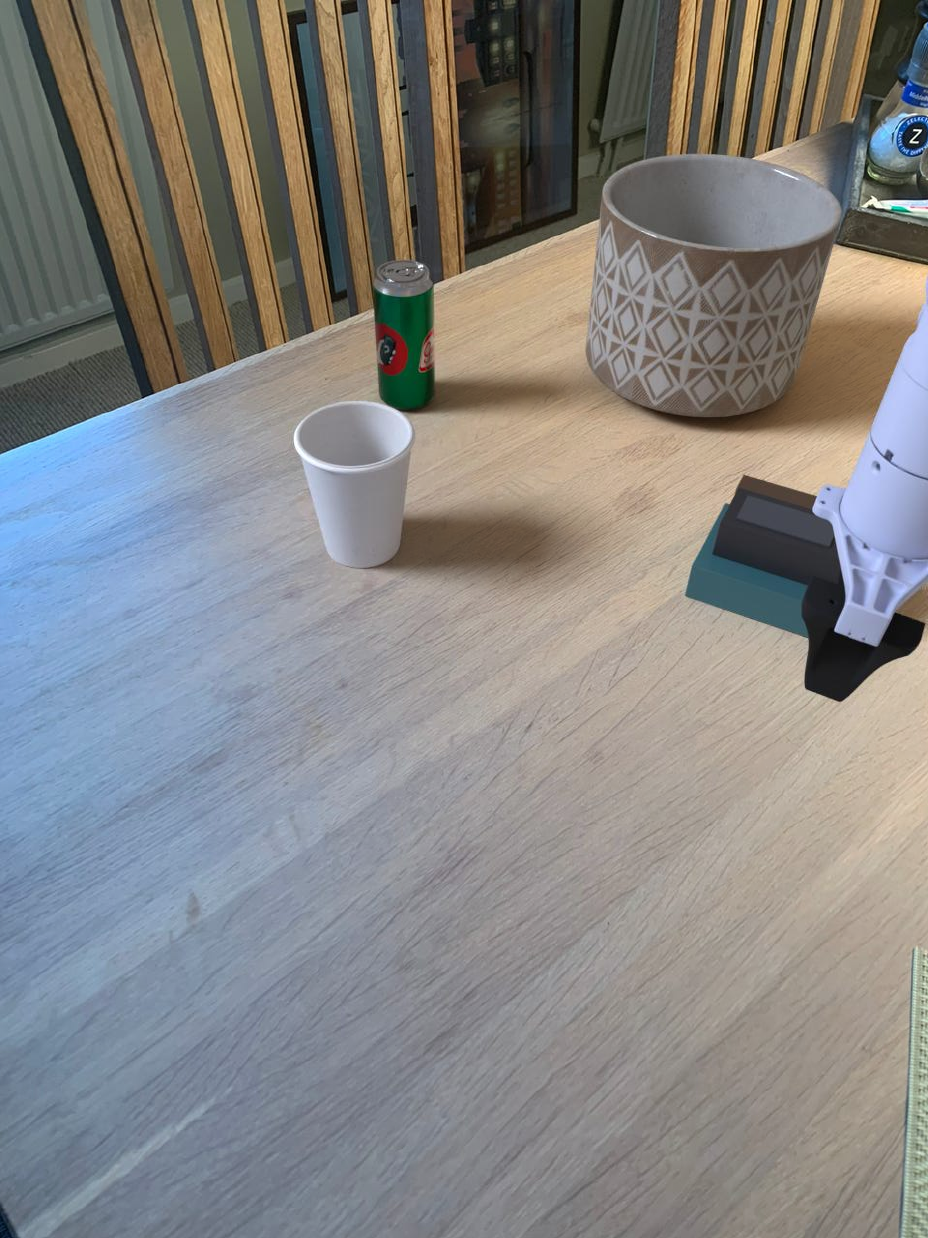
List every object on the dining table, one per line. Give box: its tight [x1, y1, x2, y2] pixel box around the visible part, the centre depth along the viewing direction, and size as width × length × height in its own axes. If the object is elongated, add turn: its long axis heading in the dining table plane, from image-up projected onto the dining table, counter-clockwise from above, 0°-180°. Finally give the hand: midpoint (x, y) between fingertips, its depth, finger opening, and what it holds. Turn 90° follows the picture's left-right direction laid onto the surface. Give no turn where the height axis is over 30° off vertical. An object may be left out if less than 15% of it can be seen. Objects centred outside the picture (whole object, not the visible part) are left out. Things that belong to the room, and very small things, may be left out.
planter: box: [585, 153, 843, 418], centre depth 87 cm, size 19×19×16 cm
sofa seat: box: [684, 474, 818, 639], centre depth 71 cm, size 10×11×4 cm
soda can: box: [372, 259, 436, 411], centre depth 85 cm, size 5×5×12 cm
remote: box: [712, 488, 841, 585], centre depth 69 cm, size 9×4×3 cm, turn 63°
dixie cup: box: [293, 400, 416, 569], centre depth 72 cm, size 8×8×10 cm
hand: (840, 645), depth 55 cm, fingers open, 7 cm apart
